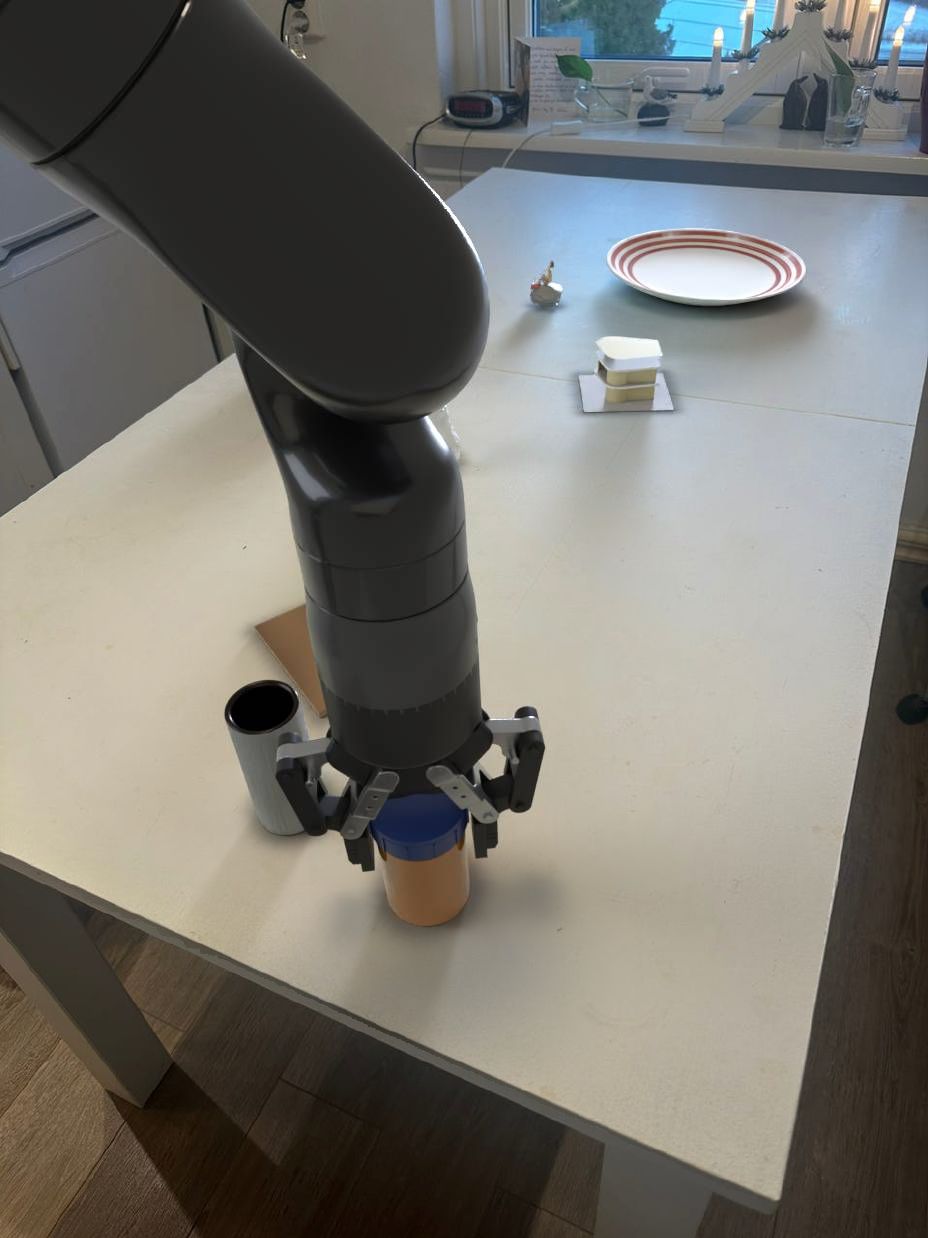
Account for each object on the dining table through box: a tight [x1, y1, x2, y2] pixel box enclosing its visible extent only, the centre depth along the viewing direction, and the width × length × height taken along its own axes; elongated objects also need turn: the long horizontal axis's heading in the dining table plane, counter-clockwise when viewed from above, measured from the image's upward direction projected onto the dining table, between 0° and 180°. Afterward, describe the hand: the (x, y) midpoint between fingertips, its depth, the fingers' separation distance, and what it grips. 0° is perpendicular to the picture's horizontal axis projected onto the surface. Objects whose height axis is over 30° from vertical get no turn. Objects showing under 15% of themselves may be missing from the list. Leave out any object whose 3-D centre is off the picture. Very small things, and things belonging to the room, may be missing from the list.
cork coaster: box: [253, 603, 327, 718], centre depth 71 cm, size 12×12×1 cm
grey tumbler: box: [223, 679, 311, 836], centre depth 56 cm, size 4×4×10 cm
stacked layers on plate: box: [578, 335, 675, 413], centre depth 99 cm, size 10×9×6 cm
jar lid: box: [368, 793, 470, 861], centre depth 49 cm, size 6×6×2 cm
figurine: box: [529, 259, 563, 309], centre depth 119 cm, size 5×4×6 cm
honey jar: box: [376, 829, 471, 927], centre depth 52 cm, size 5×5×8 cm
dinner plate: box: [605, 228, 807, 307], centre depth 123 cm, size 27×27×3 cm
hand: (424, 851), depth 51 cm, fingers open, 6 cm apart
